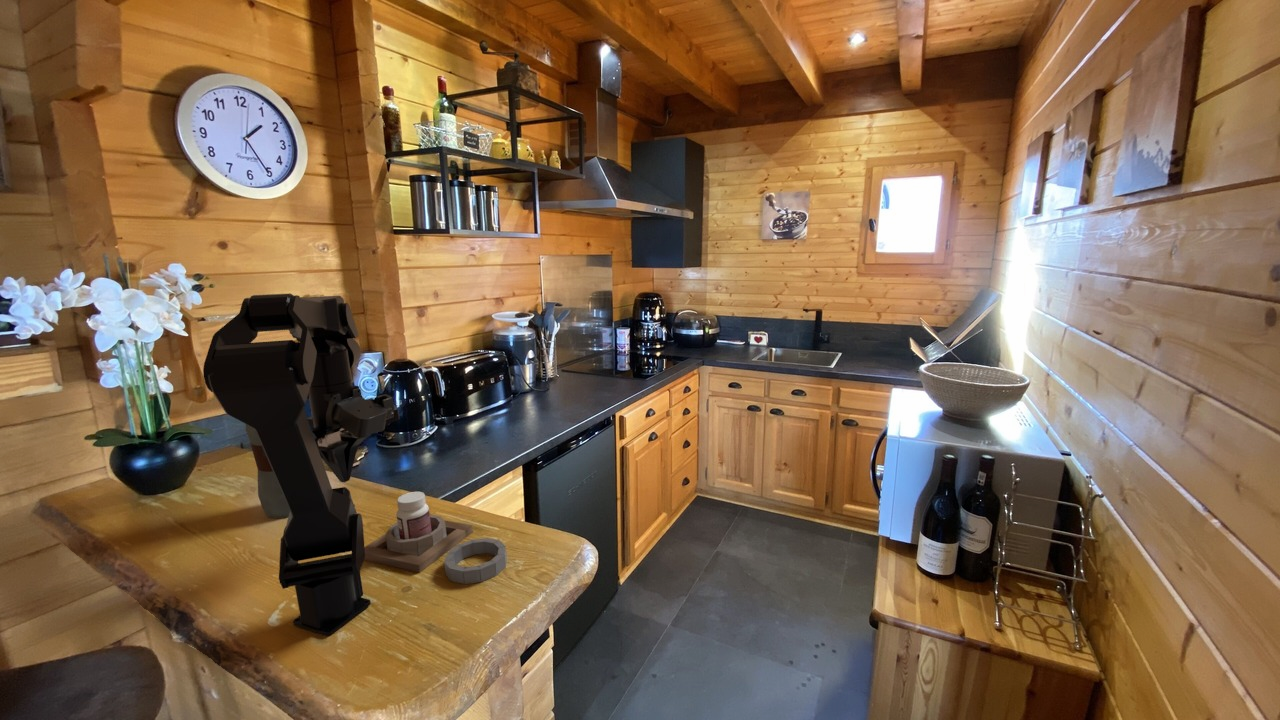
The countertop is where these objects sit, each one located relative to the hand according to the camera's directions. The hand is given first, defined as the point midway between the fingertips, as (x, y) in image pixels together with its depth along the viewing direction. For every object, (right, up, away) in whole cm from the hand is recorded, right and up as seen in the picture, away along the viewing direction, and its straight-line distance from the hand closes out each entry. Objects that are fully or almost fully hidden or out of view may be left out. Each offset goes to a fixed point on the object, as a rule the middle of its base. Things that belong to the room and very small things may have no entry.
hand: (344, 481), depth 81 cm
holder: (+21, -12, -2) cm, 24 cm away
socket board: (+9, -11, +4) cm, 15 cm away
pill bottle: (+9, -11, +4) cm, 15 cm away
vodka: (-20, -9, +19) cm, 29 cm away
